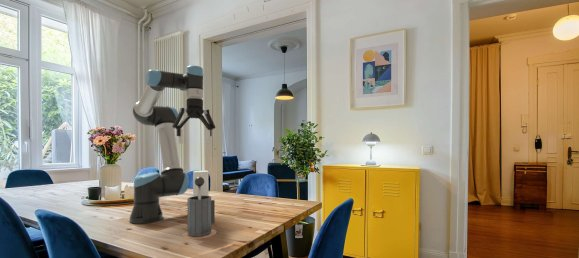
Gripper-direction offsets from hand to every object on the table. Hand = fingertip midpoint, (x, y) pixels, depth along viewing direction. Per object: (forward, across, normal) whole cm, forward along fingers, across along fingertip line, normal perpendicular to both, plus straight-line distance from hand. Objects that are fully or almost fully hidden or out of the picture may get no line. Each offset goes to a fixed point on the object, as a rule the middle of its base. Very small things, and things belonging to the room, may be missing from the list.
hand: (194, 143), depth 134 cm
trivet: (+39, -4, -13) cm, 41 cm away
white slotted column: (+39, +5, +4) cm, 39 cm away
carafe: (+38, -4, -13) cm, 40 cm away
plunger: (+33, -4, -13) cm, 36 cm away
